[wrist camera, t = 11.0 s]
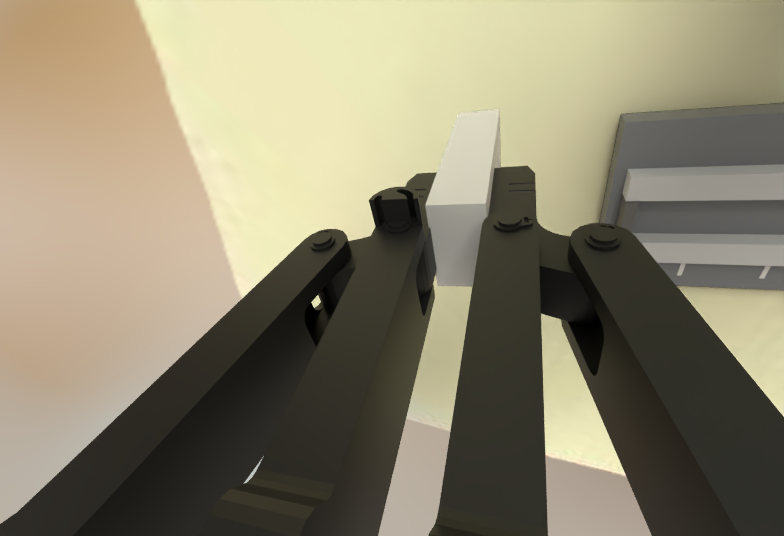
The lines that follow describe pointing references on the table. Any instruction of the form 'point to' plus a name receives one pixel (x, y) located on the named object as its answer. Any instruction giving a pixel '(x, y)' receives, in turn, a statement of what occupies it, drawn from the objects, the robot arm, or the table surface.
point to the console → (703, 193)
